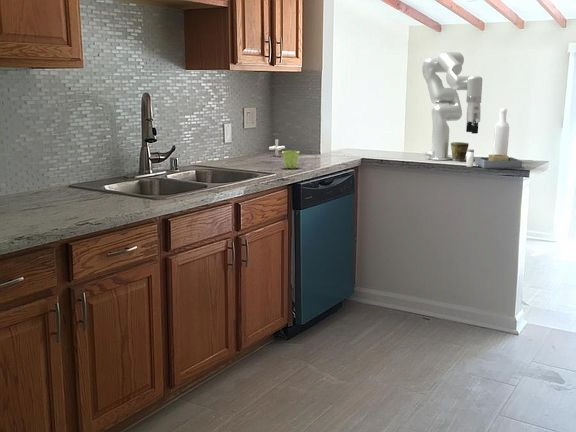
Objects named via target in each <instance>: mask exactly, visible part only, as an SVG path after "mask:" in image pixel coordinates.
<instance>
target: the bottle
mask: <svg viewBox="0 0 576 432" xmlns="http://www.w3.org/2000/svg"><path fill="white" fill-rule="evenodd" d="M507 112H508V109H507V108H502V107H500V108H499V119H498V121H497V122H496V124H495V125H494V134H493V135H494V136H493V146H492V147H493V149H492V155H506V156H508V153H509V152H508V151H509V149H508V148H509V137H510V125H509V123H508V122H507Z"/></svg>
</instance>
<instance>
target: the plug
mask: <svg viewBox="0 0 576 432" xmlns="http://www.w3.org/2000/svg"><path fill="white" fill-rule="evenodd" d="M474 156H475V149H473V148H472V149H471V148H470V149H469V148H468V149H467V153H466V158H465V161H466V163H465V166H466V167H468V168H469V167H470V168H471V167H472V168H474V159H475V158H474Z"/></svg>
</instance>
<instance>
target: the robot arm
mask: <svg viewBox="0 0 576 432" xmlns="http://www.w3.org/2000/svg"><path fill="white" fill-rule="evenodd" d="M464 63H465V58H464V56H463V54H462V53H461V52H458V51H445V52H442V53H440V54H439V55H438V57H429V58H426V59H425V60H424V61H423V62H422V69H421V70H422V72H421V73H422V75H423V78H424V80H425V82H426V84H427V85H426V86H427V89H428V90H427V91H428V93H429V96H430V100H431V103H433V104H434V105H435V106H433V107H432V109H431V118H432V137H431V150H430V151H428V152H427V151H426V152H423V153H422V154H423V156H425V157H427V156H428V160H434V161H449V160H451V157H452V156H449V145H450V143H449V142H450V126H449V124H448V123H447V122H456V121H459V120H461V118H462V117H463V116H462V115H463V110H462V105H461V101H460V97H459V93H458V91H466V104H467V107H466V108H467V109H466V127H465V128H466V129H465V132H466V133H471V134H474V135H475V134H478V133H479V123H480V121H481V104H482V93H483V92H482V91H483V77H482V76H479V75H477V76H476V75H474V76H473V75H460V74H461V72H462V71H463V64H464ZM437 73H446V75H445V80H446V84H447V85H448V86H449V87H445V86H444V84H443V80H442V79H441V78H440V76H439V75H438V74H437Z"/></svg>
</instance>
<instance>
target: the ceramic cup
mask: <svg viewBox="0 0 576 432" xmlns="http://www.w3.org/2000/svg"><path fill="white" fill-rule="evenodd" d="M469 145H470V144H469V142H461V141H460V142H458V141H457V142H450V149H451V157H452V161H453V160H454V161H453V162H464V160H465V161H466V158H467V149H469Z"/></svg>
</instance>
